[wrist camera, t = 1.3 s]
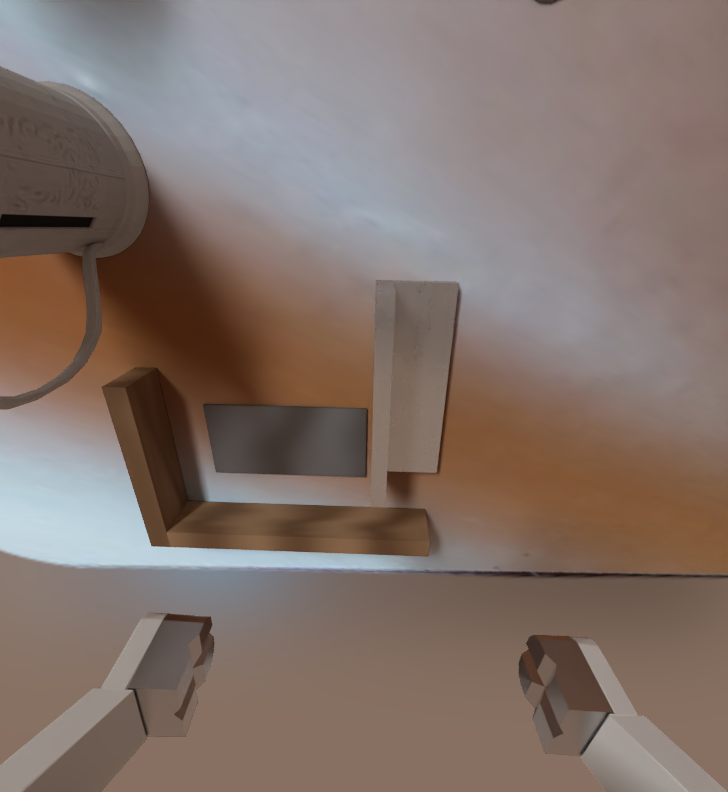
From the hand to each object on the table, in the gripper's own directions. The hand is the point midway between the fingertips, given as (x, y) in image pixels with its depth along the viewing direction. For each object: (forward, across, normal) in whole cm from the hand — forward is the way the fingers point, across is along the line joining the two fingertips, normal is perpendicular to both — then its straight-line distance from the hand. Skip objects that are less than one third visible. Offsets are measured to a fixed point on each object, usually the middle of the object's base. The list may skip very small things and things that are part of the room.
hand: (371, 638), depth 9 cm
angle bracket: (+18, -3, 0) cm, 18 cm away
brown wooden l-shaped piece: (+18, +4, +7) cm, 20 cm away
